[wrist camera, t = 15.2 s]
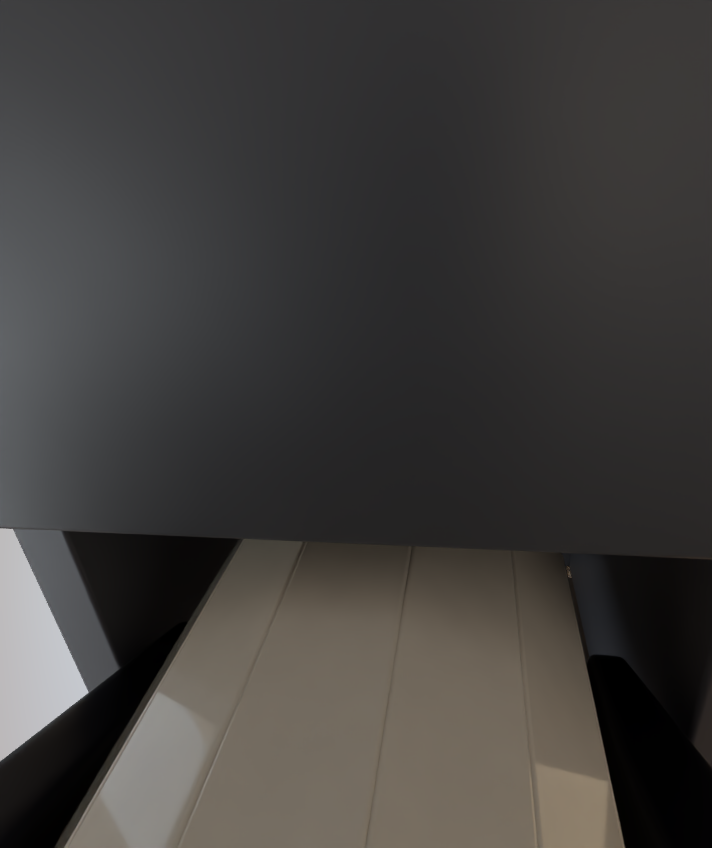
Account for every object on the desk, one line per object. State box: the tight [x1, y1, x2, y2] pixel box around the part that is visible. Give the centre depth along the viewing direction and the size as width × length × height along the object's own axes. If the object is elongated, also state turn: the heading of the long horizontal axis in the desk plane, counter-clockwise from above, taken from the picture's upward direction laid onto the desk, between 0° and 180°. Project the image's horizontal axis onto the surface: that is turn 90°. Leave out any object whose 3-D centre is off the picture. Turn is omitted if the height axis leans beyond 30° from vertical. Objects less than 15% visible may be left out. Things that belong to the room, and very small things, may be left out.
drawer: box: [13, 529, 712, 767], centre depth 12 cm, size 17×10×9 cm, turn 6°
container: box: [54, 539, 626, 848], centre depth 7 cm, size 5×6×6 cm
